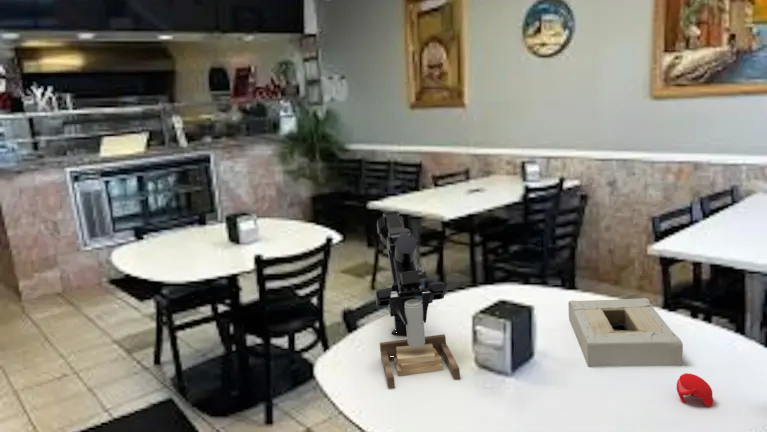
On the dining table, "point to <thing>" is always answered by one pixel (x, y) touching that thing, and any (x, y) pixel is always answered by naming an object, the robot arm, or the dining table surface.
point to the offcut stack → (417, 360)
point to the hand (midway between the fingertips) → (415, 323)
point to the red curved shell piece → (694, 388)
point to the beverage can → (414, 323)
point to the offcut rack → (390, 346)
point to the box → (623, 334)
